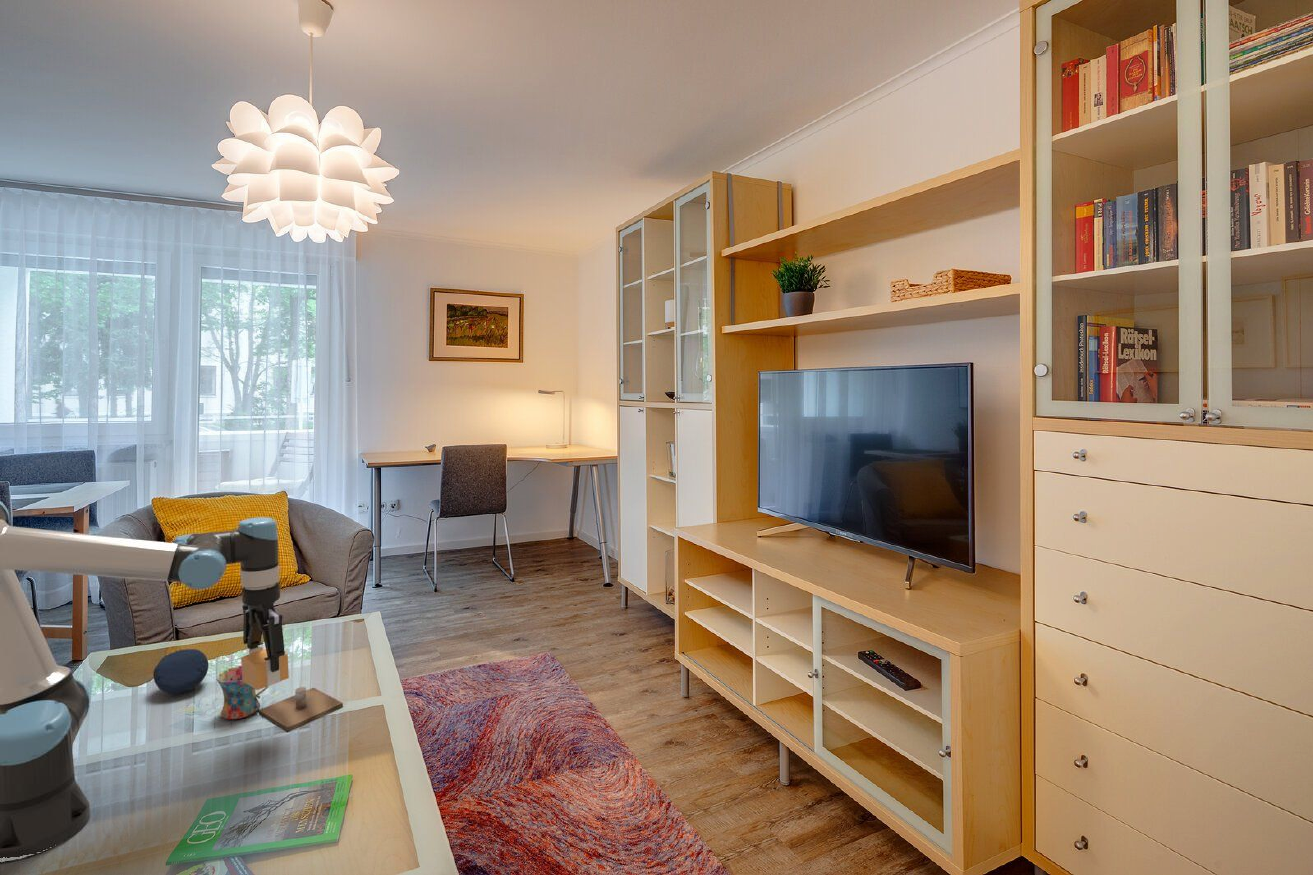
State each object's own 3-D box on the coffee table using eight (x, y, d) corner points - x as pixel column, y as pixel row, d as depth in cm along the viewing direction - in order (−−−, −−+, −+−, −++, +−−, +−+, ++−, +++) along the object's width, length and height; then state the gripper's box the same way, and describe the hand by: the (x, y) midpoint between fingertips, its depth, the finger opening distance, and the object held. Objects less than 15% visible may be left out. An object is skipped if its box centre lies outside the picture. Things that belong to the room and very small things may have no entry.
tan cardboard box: (257, 690, 146) (255, 665, 145) (242, 681, 150) (241, 657, 149) (288, 677, 152) (287, 653, 151) (273, 669, 155) (272, 646, 155)
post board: (287, 731, 155) (286, 709, 154) (259, 713, 162) (258, 692, 162) (342, 706, 167) (342, 686, 166) (313, 690, 174) (312, 671, 174)
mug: (217, 726, 156) (215, 685, 155) (219, 709, 164) (217, 669, 163) (274, 713, 163) (272, 673, 161) (274, 697, 170) (272, 659, 169)
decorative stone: (153, 689, 174) (151, 654, 172) (206, 675, 181) (204, 642, 180) (156, 706, 165) (154, 669, 164) (212, 691, 173) (210, 656, 172)
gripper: (300, 588, 146) (303, 684, 148) (256, 572, 157) (261, 661, 159) (265, 598, 139) (269, 698, 142) (222, 580, 150) (227, 673, 153)
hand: (265, 678), depth 150 cm, fingers closed on tan cardboard box, 7 cm apart
